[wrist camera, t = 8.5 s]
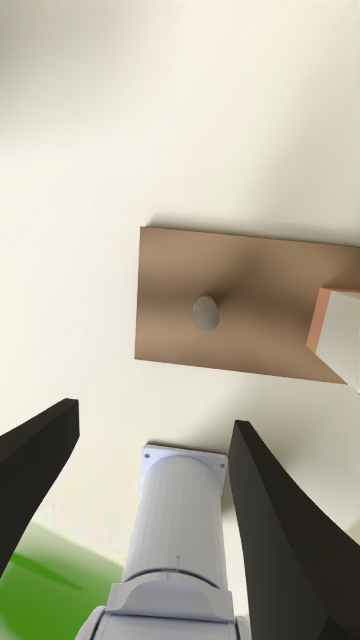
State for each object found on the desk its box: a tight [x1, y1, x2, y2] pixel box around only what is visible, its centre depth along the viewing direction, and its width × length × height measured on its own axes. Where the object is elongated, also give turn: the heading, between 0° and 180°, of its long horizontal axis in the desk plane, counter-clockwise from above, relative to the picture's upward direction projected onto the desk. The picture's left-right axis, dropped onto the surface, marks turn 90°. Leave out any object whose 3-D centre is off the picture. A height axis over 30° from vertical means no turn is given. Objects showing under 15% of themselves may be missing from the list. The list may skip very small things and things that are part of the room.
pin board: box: [135, 226, 360, 385], centre depth 16 cm, size 10×20×4 cm, turn 84°
